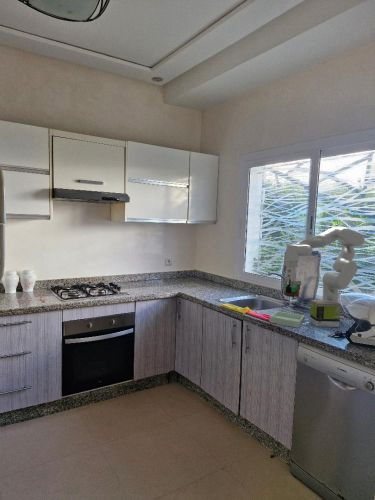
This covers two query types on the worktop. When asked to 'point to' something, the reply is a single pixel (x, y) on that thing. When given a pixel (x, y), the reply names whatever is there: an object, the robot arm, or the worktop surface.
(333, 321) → the tea box
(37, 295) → the worktop surface
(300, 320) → the sorting tray
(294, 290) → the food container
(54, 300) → the worktop surface
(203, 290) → the worktop surface
